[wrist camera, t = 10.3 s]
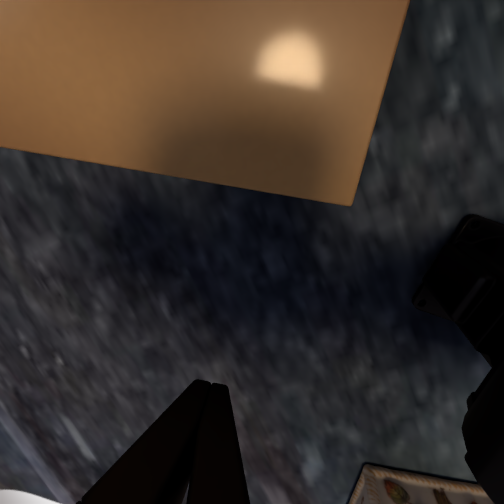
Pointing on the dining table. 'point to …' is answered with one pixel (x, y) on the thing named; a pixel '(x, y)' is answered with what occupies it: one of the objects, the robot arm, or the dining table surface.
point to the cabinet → (202, 87)
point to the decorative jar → (413, 489)
